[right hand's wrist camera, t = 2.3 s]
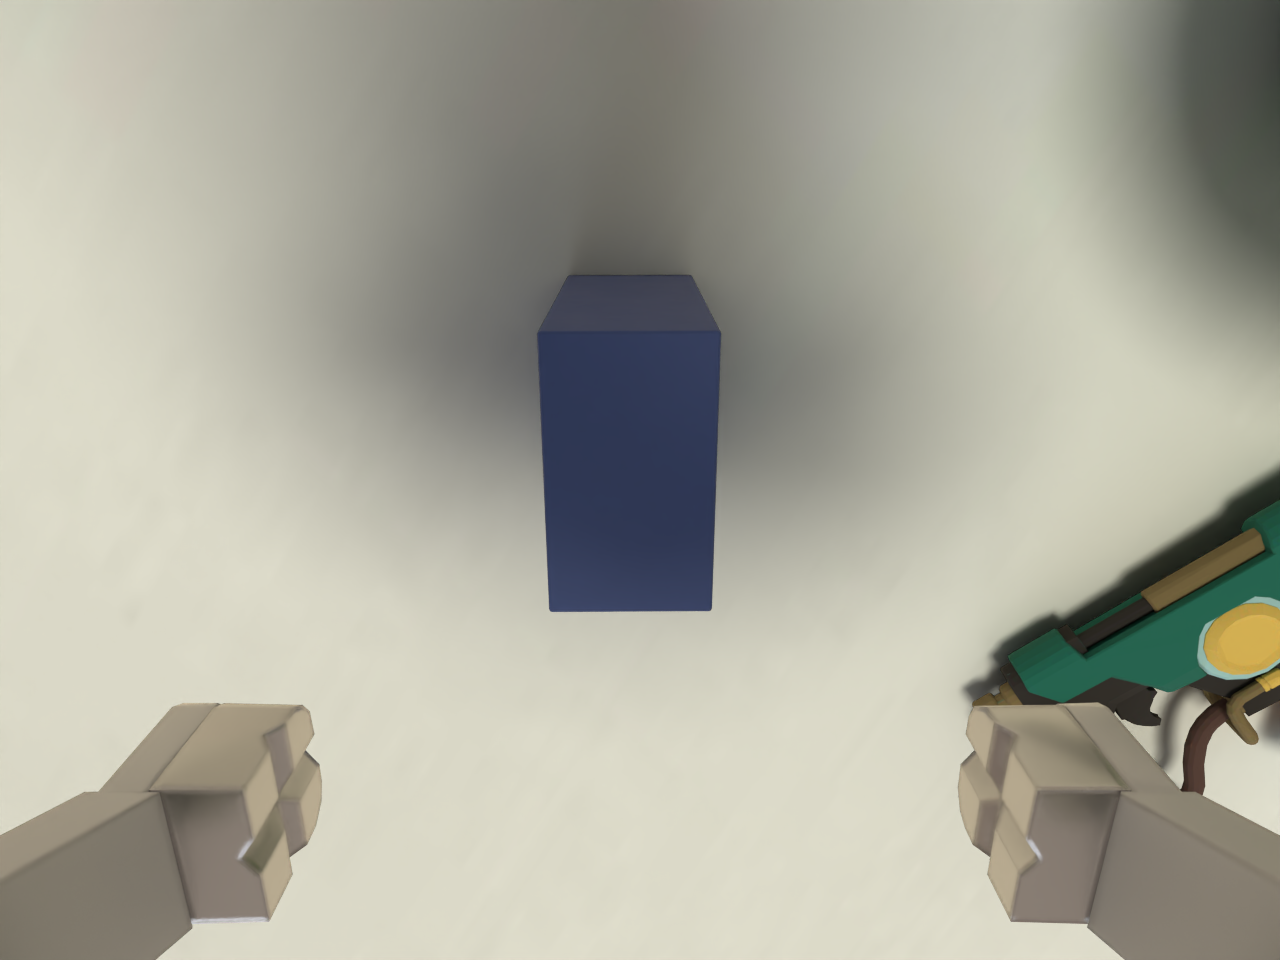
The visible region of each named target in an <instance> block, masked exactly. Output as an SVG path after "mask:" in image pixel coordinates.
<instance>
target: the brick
mask: <svg viewBox="0 0 1280 960" xmlns="http://www.w3.org/2000/svg"><path fill="white" fill-rule="evenodd" d="M537 341H538V364H539V387H540V409H541V432H542V455H543V478H544V500H545V523H546V546H547V568H548V591H549V609H550V611H551V612H611V611H710V610H711V609H712V588H713V559H714V529H715V499H716V470H717V440H718V411H719V381H720V351H721V332H720V330H719V328H718V326H717V324H716V322H715V320H714V318H713V316H712V314H711V313H710V311H709V309H708V307H707V305H706V303H705V301H704V299H703V297H702V295H701V293H700V291H699V289H698V287H697V285H696V283H695V282H694V280H693V278H692V276H691V275H569V276H568V277H567V279H566V281H565V283H564V285H563V286H562V288H561V290H560V292H559V294H558V296H557V298H556V299H555V301H554V303H553V305H552V307H551V309H550V311H549V312H548V314H547V316H546V318H545V320H544V322H543V324H542V325H541V327H540V329H539V331H538V333H537Z"/></svg>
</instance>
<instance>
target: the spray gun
mask: <svg viewBox="0 0 1280 960" xmlns="http://www.w3.org/2000/svg"><path fill="white" fill-rule="evenodd" d="M1241 530H1242V532H1243V533H1242V534H1240V535H1238V536H1237V537H1235V538H1233V539H1231V540H1230V541H1228V542H1226V543H1225V544H1223V545H1221V546H1219V547H1218V548H1216V549H1214V550H1212V551H1211V552H1209V553H1207V554H1205V555H1204V556H1202V557H1200V558H1199V559H1197V560H1195V561H1193V562H1192V563H1190V564H1188V565H1186V566H1185V567H1183V568H1181V569H1179V570H1178V571H1176V572H1174V573H1173V574H1171V575H1169V576H1167V577H1166V578H1164V579H1162V580H1160V581H1159V582H1157V583H1155V584H1153V585H1152V586H1150V587H1148V588H1147V589H1145V590H1143V591H1141V592H1140V593H1139V594H1137V595H1135V596H1133V597H1132V598H1130V599H1128V600H1127V601H1125V602H1123V603H1121V604H1120V605H1118V606H1116V607H1114V608H1113V609H1111V610H1109V611H1108V612H1106V613H1104V614H1102V615H1101V616H1099V617H1097V618H1095V619H1094V620H1092V621H1090V622H1089V623H1087V624H1085V625H1083V626H1082V627H1080V628H1078V629H1076V630H1075V631H1072V629H1071V628H1070V627H1069V626H1068V625H1067V624H1066V625H1065V626H1063V627H1061V628H1059V629H1052V630H1051V631H1049V632H1047V633H1046V634H1044V635H1042V636H1040V637H1039V638H1037V639H1035V640H1033V641H1032V642H1030V643H1028V644H1027V645H1025V646H1023V647H1021V648H1020V649H1018V650H1016V651H1015V652H1013V653H1011V654H1009V655H1008V658H1009V661H1010V663H1008V664H1006V665H1004V666H1003V667H1001V672H1002V673H1003V675H1004V676H1005V678H1006V680H1007V682H1006V683H1004V684H1003V685H1001V686H1000V689H999V691H1000V693H999V694H997V695H996V696H993V695H992V694H991V693H988V694H986V695H984V696H983V697H981V698H979V699H977V700H976V701H974V702H973V703H972V705H973V707H974V706H1009V705H1056V704H1068V703H1100V704H1102V705H1104V706H1106V707H1108V708H1109V709H1110V710H1111V711H1112V712H1113V713H1114V712H1116V713H1117V714H1118V716H1119V717H1120V718H1121V719H1122V720H1124V719H1125V720H1127V721H1129V722H1131V723H1133V724H1136V725H1142V726H1157V725H1160V722H1161V718H1159V717H1158V714H1154V713H1152V712H1150V707H1151V704H1152V702H1153V698H1154V697H1155V695H1156V694H1157V691H1156V690H1155V689H1154V688H1156V689H1159V690H1162V691H1165V692H1173V691H1175V690H1178V689H1180V688H1182V687H1184V686H1186V685H1188V686H1192V687H1195V688H1198V689H1201V690H1203V693H1204V694H1205V696H1206V698H1207V699H1208V701H1209V702H1210V703H1211V706H1209V707H1208V708H1207V709H1206V710H1205V711H1204V712H1203V713H1202V714H1201V715H1200V716H1199V717H1198V718H1197V719H1196V720H1195V722H1194V723H1193V725H1192V726H1191V728H1190V730H1189V733H1188V736H1187V739H1186V742H1185V744H1184V754H1183V773H1184V782H1183V785H1182V788H1181V789H1180V790H1181V791H1182V792H1196V793H1198V794H1200V795H1203V792H1204V788H1205V773H1204V762H1205V756H1206V749H1207V745H1208V743H1209V740H1210V738H1211V736H1212V734H1213V733H1214V731H1215V730H1216V729H1217V728H1218V727H1219V726H1220V725H1222V724H1223V723H1224V722H1226V723H1227V724H1228V725H1229V726H1230V727H1231V728H1232V729H1233V730H1234V731H1235V732H1236V733H1237V734H1238V735H1239V736H1240V737H1241V739H1242V740H1243V741H1245V742H1246V743H1247V744H1250V745H1254V744H1256V743H1258V740H1259V738H1258V735H1257V733H1256V731H1255V730H1254V729H1253V727H1252V726H1251V725H1250V723H1249V722H1248V720H1247V719H1246V717H1245V715H1244V713H1246V714H1247V715H1248V716H1250V715H1252V714H1254V713H1256V712H1258V711H1260V710H1262V709H1264V708H1266V707H1268V706H1270V705H1272V704H1274V703H1276V702H1277V701H1279V700H1280V500H1278V501H1277V502H1275V503H1273V504H1271V505H1270V506H1268V507H1266V508H1264V509H1263V510H1261V511H1259V512H1258V513H1256V514H1254V515H1252V516H1251V517H1249V518H1248V519H1246V520H1245V521H1244V523H1243V525H1242V528H1241Z"/></svg>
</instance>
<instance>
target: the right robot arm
mask: <svg viewBox="0 0 1280 960" xmlns="http://www.w3.org/2000/svg"><path fill="white" fill-rule="evenodd" d="M313 736H314V730H313V725H312V720H311V715H310V711H309V710H308V709H306V708H305V707H304V706H303V705H282V704H236V703H223V704H219V703H182V704H180V705H177V706H174V707H172V708H171V709H170V710H169V711H168V712H167V713H166V715H165V716H164V717H163V718H162V719H161V720H160V721H159V723H158V724H157V725H156V726H155V727H154V728H153V729H152V731H151V732H150V733H149V734H148V735H147V736H146V738H145V739H144V740H143V741H142V742H141V743H140V744H139V746H138V747H137V748H136V749H135V750H134V751H133V752H132V754H131V755H130V756H129V757H128V758H127V759H126V760H125V762H124V763H123V764H122V765H121V766H120V767H119V768H118V770H117V771H116V772H115V773H114V774H113V775H112V777H111V778H110V779H109V780H108V781H107V782H106V783H105V785H104V786H103V787H102V788H101V789H100V790H99V791H98V792H84V793H82V794H80V795H78V796H76V797H74V798H72V799H70V800H68V801H66V802H64V803H62V804H60V805H58V806H56V807H54V808H53V809H51V810H49V811H47V812H45V813H43V814H41V815H39V816H37V817H35V818H33V819H31V820H29V821H27V822H25V823H23V824H22V825H20V826H18V827H16V828H14V829H12V830H10V831H8V832H6V833H4V834H2V835H0V960H156V959H157V958H158V957H159V956H160V955H162V954H163V953H164V952H165V951H166V950H167V949H169V948H170V947H171V946H172V945H173V944H174V943H176V942H177V941H178V940H179V939H180V938H181V937H183V936H184V935H185V934H186V933H187V932H188V931H190V930H191V929H192V924H203V923H237V922H269V921H270V919H271V917H272V915H273V913H274V911H275V909H276V907H277V905H278V903H279V901H280V899H281V897H282V895H283V893H284V891H285V889H286V887H287V885H288V883H289V881H290V879H291V877H292V875H293V873H292V868H291V862H290V857H291V856H292V855H293V854H295V853H296V852H298V851H299V850H300V849H302V848H303V847H304V846H306V845H307V844H308V842H309V840H310V837H311V835H312V833H313V831H314V829H315V827H316V823H317V819H318V814H319V810H320V805H321V799H322V779H321V773H320V766H319V764H318V763H317V762H316V761H315V760H314V759H313V758H312V757H311V756H310V754H309V753H308V752H307V751H306V748H307V746H308V745H309V743H310V741H311V739H312V737H313ZM966 736H967V737H968V739H969V741H970V743H971V745H972V746H973V748H974V751H973V752H972V753H971V754H970V756H969V757H968V758H967V759H966V760H965V761H964V762H963V763H962V764H961V766H960V774H959V782H958V794H959V805H960V812H961V816H962V819H963V823H964V826H965V829H966V831H967V833H968V835H969V837H970V840H971V842H972V844H973V845H974V846H976V847H977V848H978V849H980V850H981V851H982V852H984V853H985V854H987V855H988V856H989V857H990V862H989V868H988V873H987V875H988V877H989V879H990V881H991V883H992V885H993V887H994V889H995V891H996V893H997V895H998V897H999V899H1000V901H1001V903H1002V905H1003V907H1004V909H1005V911H1006V913H1007V915H1008V917H1009V919H1010V921H1011V922H1042V923H1077V924H1088V926H1087V928H1088V929H1090V930H1091V931H1092V932H1093V933H1094V934H1095V935H1097V936H1098V937H1099V938H1100V939H1101V940H1102V941H1104V942H1105V943H1106V944H1107V945H1108V946H1109V947H1111V948H1112V949H1113V950H1114V951H1115V952H1116V953H1118V954H1119V955H1120V956H1121V957H1122V958H1123V959H1125V960H1280V835H1278V834H1276V833H1274V832H1272V831H1270V830H1268V829H1266V828H1264V827H1262V826H1260V825H1258V824H1256V823H1254V822H1253V821H1251V820H1249V819H1247V818H1245V817H1243V816H1241V815H1239V814H1237V813H1235V812H1233V811H1231V810H1229V809H1227V808H1225V807H1224V806H1222V805H1220V804H1218V803H1216V802H1214V801H1212V800H1210V799H1208V798H1206V797H1204V796H1202V795H1200V794H1198V793H1196V792H1182V791H1181V790H1180V789H1179V788H1178V787H1177V786H1176V785H1175V783H1174V782H1173V781H1172V780H1171V779H1170V778H1169V777H1168V775H1167V774H1166V773H1165V772H1164V771H1163V770H1162V769H1161V767H1160V766H1159V765H1158V764H1157V763H1156V762H1155V760H1154V759H1153V758H1152V757H1151V756H1150V755H1149V754H1148V752H1147V751H1146V750H1145V749H1144V748H1143V747H1142V746H1141V744H1140V743H1139V742H1138V741H1137V740H1136V739H1135V738H1134V736H1133V735H1132V734H1131V733H1130V732H1129V731H1128V730H1127V728H1126V727H1125V726H1124V725H1123V724H1122V723H1121V722H1120V720H1119V719H1118V718H1117V717H1116V716H1115V715H1114V713H1113V712H1112V711H1111V710H1110V709H1109V708H1108V707H1106V706H1104V705H1102V704H1100V703H1068V704H1056V705H1009V706H974V707H973V709H972V711H971V713H970V715H969V718H968V724H967V729H966Z"/></svg>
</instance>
